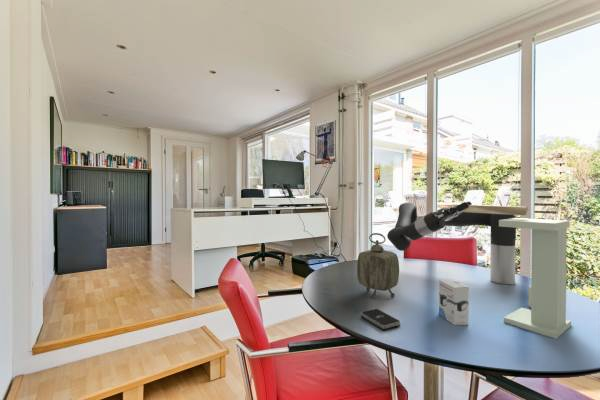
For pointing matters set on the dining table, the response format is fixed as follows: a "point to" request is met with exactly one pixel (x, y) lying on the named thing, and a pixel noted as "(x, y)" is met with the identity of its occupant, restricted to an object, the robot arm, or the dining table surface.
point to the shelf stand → (544, 277)
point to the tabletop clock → (378, 268)
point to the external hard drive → (380, 319)
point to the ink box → (454, 301)
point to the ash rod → (496, 209)
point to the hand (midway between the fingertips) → (468, 203)
